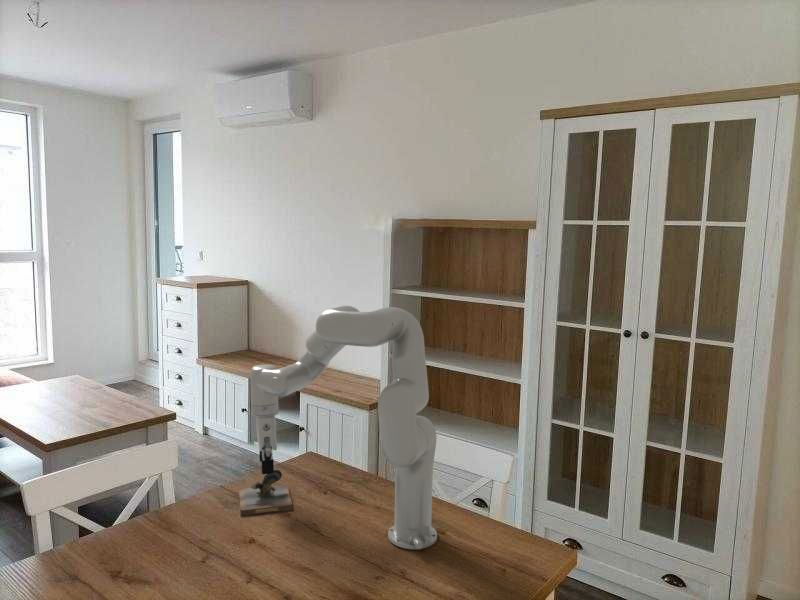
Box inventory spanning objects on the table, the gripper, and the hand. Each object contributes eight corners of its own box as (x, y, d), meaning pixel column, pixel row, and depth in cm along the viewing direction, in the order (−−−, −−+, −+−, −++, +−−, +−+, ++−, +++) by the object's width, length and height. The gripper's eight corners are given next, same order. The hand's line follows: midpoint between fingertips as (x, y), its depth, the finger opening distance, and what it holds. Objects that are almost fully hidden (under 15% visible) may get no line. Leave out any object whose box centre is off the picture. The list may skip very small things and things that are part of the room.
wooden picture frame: (292, 510, 164) (292, 504, 164) (240, 516, 160) (240, 510, 160) (286, 488, 178) (286, 483, 178) (239, 493, 174) (239, 488, 174)
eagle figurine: (280, 497, 166) (288, 479, 174) (265, 478, 164) (274, 460, 173) (259, 509, 167) (267, 490, 176) (244, 490, 166) (253, 472, 174)
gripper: (281, 416, 159) (282, 477, 161) (275, 399, 175) (277, 455, 177) (252, 418, 157) (254, 480, 158) (249, 401, 173) (251, 457, 175)
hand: (266, 467), depth 168 cm, fingers open, 9 cm apart
